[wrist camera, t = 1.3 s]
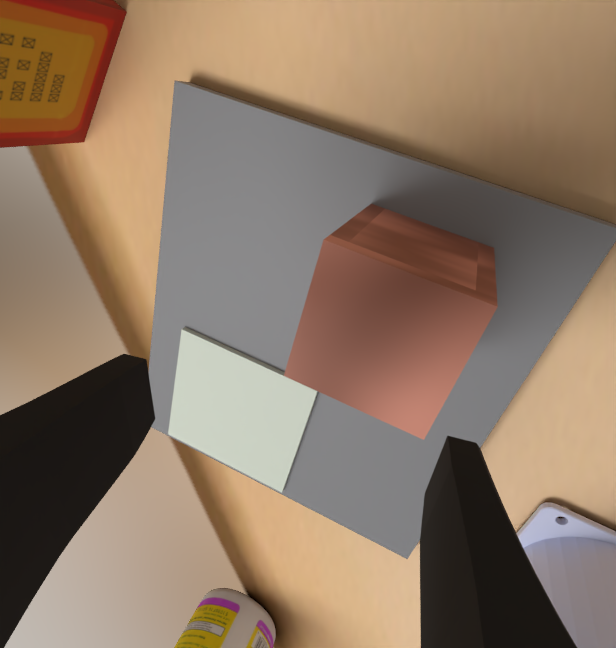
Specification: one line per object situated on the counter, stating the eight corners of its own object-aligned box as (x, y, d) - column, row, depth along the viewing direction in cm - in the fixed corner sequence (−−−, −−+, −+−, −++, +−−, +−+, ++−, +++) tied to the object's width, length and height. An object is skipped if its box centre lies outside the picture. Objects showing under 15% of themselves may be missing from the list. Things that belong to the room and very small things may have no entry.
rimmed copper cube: (494, 248, 16) (497, 306, 11) (440, 353, 19) (423, 439, 14) (371, 203, 17) (323, 239, 12) (335, 309, 20) (283, 375, 15)
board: (615, 224, 16) (677, 276, 11) (409, 544, 26) (390, 650, 21) (188, 82, 19) (79, 69, 14) (153, 414, 29) (83, 477, 24)
